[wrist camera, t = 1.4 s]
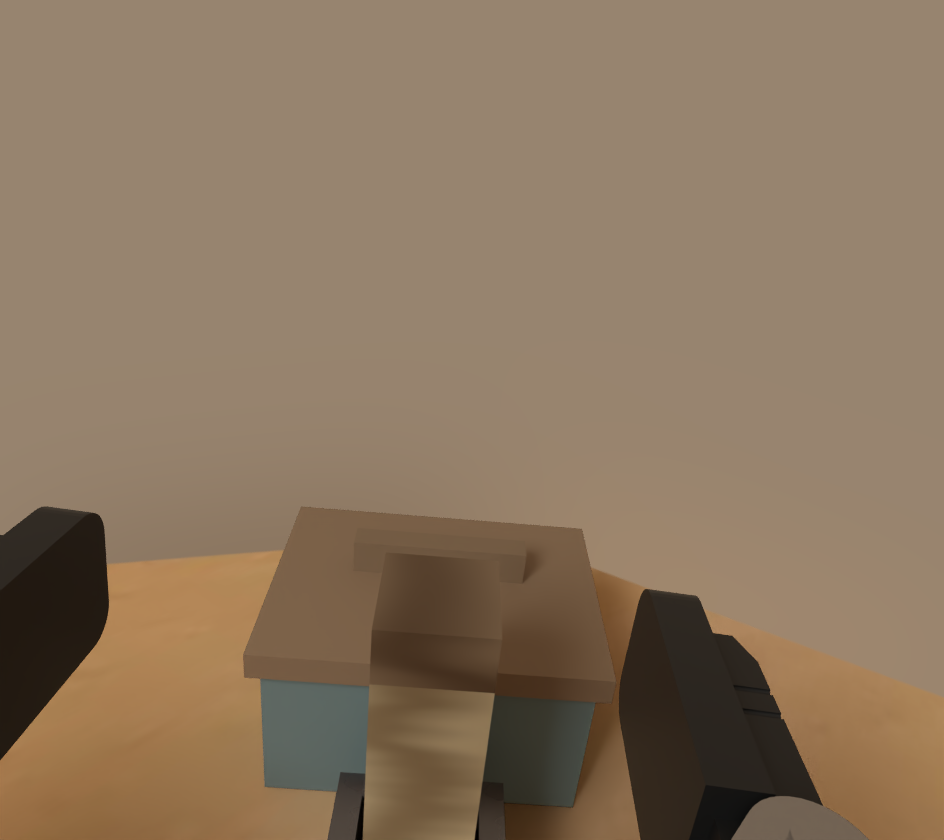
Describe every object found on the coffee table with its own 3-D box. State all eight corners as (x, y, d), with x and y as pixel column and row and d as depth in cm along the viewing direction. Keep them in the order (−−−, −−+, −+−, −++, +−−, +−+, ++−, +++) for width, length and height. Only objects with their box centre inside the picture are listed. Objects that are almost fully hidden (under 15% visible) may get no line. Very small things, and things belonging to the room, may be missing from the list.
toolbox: (560, 646, 44) (586, 503, 40) (585, 817, 34) (623, 651, 30) (302, 627, 43) (300, 480, 39) (250, 795, 33) (241, 623, 29)
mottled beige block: (457, 879, 31) (498, 561, 24) (455, 976, 28) (502, 639, 21) (369, 874, 31) (385, 552, 24) (357, 970, 28) (371, 629, 21)
